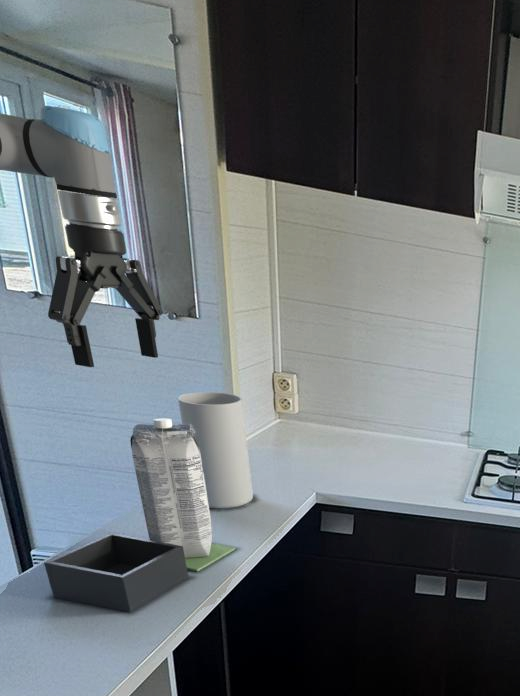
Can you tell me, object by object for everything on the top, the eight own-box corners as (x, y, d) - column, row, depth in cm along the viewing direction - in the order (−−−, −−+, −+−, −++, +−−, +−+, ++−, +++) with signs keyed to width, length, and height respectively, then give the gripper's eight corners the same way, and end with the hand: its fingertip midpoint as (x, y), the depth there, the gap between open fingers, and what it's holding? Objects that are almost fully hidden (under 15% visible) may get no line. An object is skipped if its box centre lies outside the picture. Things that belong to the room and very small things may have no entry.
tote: (53, 597, 109) (43, 562, 106) (119, 564, 121) (111, 532, 118) (130, 612, 108) (122, 577, 105) (188, 578, 120) (183, 546, 117)
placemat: (131, 559, 123) (131, 556, 123) (174, 538, 133) (173, 536, 133) (197, 571, 122) (197, 569, 122) (235, 549, 132) (234, 547, 132)
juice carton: (215, 558, 127) (194, 427, 115) (152, 564, 122) (124, 428, 110) (214, 540, 134) (195, 415, 122) (155, 545, 128) (129, 415, 117)
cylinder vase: (226, 487, 161) (213, 389, 150) (265, 498, 158) (254, 399, 147) (182, 501, 150) (164, 397, 139) (222, 513, 147) (207, 407, 136)
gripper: (41, 222, 89) (74, 374, 98) (174, 233, 112) (191, 356, 121) (-7, 214, 90) (31, 366, 99) (135, 227, 112) (155, 350, 121)
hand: (119, 361), depth 110 cm, fingers open, 13 cm apart
